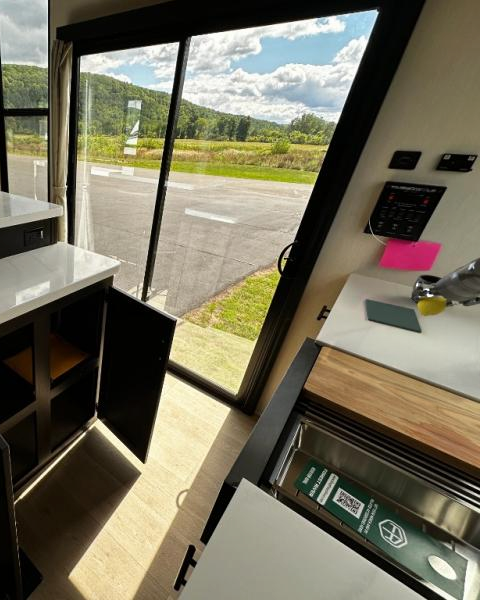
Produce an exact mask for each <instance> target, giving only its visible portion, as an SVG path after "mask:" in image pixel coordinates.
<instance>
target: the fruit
mask: <svg viewBox="0 0 480 600" xmlns="http://www.w3.org/2000/svg"><path fill="white" fill-rule="evenodd" d="M445 309H446V299H445V298H433V299H430V298H424V299H422V300H421V301H419V302H418V303H417V310H418V311H419V312H420V315H421V316H423V317H430V316H431V317H432V316H437V315H439V314H441V313H443V312H444V311H445Z"/></svg>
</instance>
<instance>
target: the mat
mask: <svg viewBox="0 0 480 600" xmlns="http://www.w3.org/2000/svg"><path fill="white" fill-rule="evenodd" d="M365 306H366V307H365V308H366V315H367V320H368V321H371V322H373V323H374V322H375V323H379V324H383V325H387V326H391V327H395V328H400V329H404V330H407V331H412V332H415V333H420V334H422V333H423V330H422V327H421V325H420V322H419V319H418V317H417V313H416V310H415V309H414V308H410V307H405V306H400V305H396V304H391V303H388V302H382V301H377V300H372V299H369V298H366V299H365Z"/></svg>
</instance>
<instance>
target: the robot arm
mask: <svg viewBox="0 0 480 600" xmlns="http://www.w3.org/2000/svg"><path fill="white" fill-rule="evenodd" d="M440 278H441V279H440V280H439V281H438V282H437V283H433V284H431V285H427V284H424V283H423V281H417V283H416V284H415V283H414V284H415V286H414V285H413V286H412V290H413V291H411V294H410V296H414V300H415V301H417V302H419V301H421V300H422V299H424V298H430V299H433V298H446V308H451V307H454V306H459V305H462V307H473V306H476V305H480V257H476V259H473V260H471V261H470V262H468V263H467V264H465V265H464V266H460V267H458V268H456V269H455V270H453V271H451V272H449V273H448V274H446V275H445V276H443V277H440ZM446 308H445V309H446Z"/></svg>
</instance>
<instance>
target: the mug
mask: <svg viewBox="0 0 480 600" xmlns="http://www.w3.org/2000/svg"><path fill="white" fill-rule="evenodd" d="M441 278H442V277H440V276H437V275H431V274H419V276H418V277H417V278H416V280H415V282H414V284H413V287H414V286H415V284H416V283H417V281H423V283H424V284H427V285H431V284H433V283H437V282H438V281H439V280H440V279H441ZM412 291H413V289H412ZM412 291H411V292H412ZM410 296H411V297H410V300H411V299H412V300H413V301H412V300H411V301H412V302H414V301H415V300H414V296H412V295H410ZM445 299H446V298H445ZM416 302H417V301H415V302H414V303H416ZM417 304H418V302H417Z"/></svg>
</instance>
